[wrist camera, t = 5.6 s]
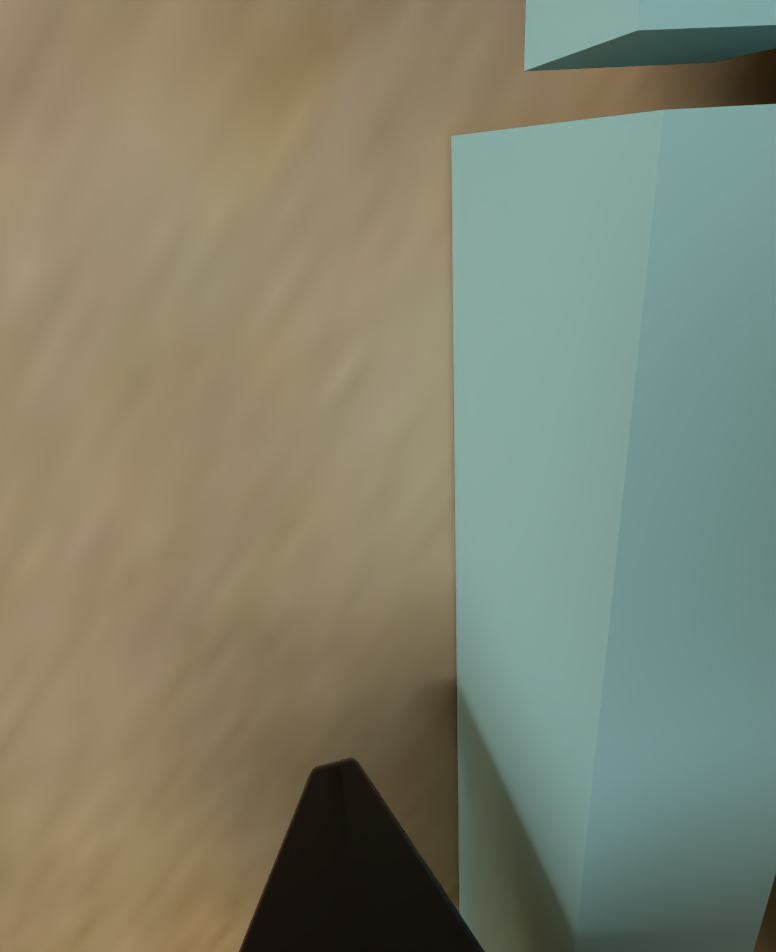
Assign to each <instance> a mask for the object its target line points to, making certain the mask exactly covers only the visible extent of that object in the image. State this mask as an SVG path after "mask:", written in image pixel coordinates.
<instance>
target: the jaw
mask: <svg viewBox="0 0 776 952" xmlns="http://www.w3.org/2000/svg"><path fill="white" fill-rule="evenodd" d="M775 48H776V0H526V20H525V55H524V71H538V70H559V69H581V68H603V67H625V66H647V65H669V64H690V63H712V62H716V61H721V60H725V59H730V58H734V57H739V56H743V55H748V54H752V53H757V52H761V51H766V50H770V49H775ZM451 151H452V247H453V343H454V439H455V535H456V631H457V728H458V824H459V914H460V915H461V917H462V918H463V920H464V921H465V923H466V924H467V926H468V927H469V929H470V930H471V932H472V933H473V935H474V936H475V938H476V939H477V941H478V942H479V944H480V945H481V947H482V948H483V950H484V951H485V952H753V951H754V948H755V944H756V941H757V937H758V934H759V930H760V927H761V923H762V920H763V916H764V913H765V909H766V906H767V902H768V899H769V895H770V892H771V889H772V885H773V882H774V878H775V875H776V104H763V105H744V106H725V107H706V108H687V109H668V110H658V111H649V112H641V113H633V114H625V115H617V116H609V117H601V118H593V119H585V120H577V121H568V122H560V123H552V124H544V125H536V126H528V127H520V128H512V129H504V130H496V131H487V132H479V133H471V134H463V135H455V136H451Z"/></svg>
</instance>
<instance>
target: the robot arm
mask: <svg viewBox="0 0 776 952" xmlns="http://www.w3.org/2000/svg"><path fill="white" fill-rule="evenodd" d="M239 952H485V951H484V950H483V948H482V947H481V945H480V944H479V942H478V941H477V939H476V938H475V936H474V935H473V933H472V932H471V930H470V929H469V927H468V926H467V924H466V923H465V921H464V920H463V918H462V917H461V915H460V914H459V912H458V911H457V909H456V908H455V906H454V905H453V903H452V902H451V900H450V899H449V897H448V896H447V894H446V893H445V891H444V890H443V888H442V887H441V885H440V884H439V882H438V881H437V879H436V878H435V876H434V875H433V873H432V872H431V870H430V869H429V867H428V866H427V864H426V863H425V861H424V860H423V858H422V857H421V855H420V854H419V852H418V851H417V849H416V848H415V846H414V845H413V843H412V842H411V840H410V839H409V837H408V836H407V834H406V833H405V831H404V830H403V828H402V827H401V825H400V824H399V822H398V821H397V819H396V818H395V816H394V815H393V813H392V812H391V810H390V809H389V807H388V806H387V804H386V803H385V801H384V800H383V798H382V797H381V795H380V794H379V792H378V791H377V789H376V788H375V786H374V785H373V783H372V782H371V780H370V779H369V777H368V776H367V774H366V773H365V771H364V770H363V768H362V767H361V765H360V764H359V762H358V761H357V760H356V759H355V758H346V759H343V760H339V761H335V762H331V763H327V764H323V765H319V766H316V767H315V768H314V769H313V770H312V771H311V773H310V775H309V778H308V780H307V783H306V785H305V788H304V790H303V793H302V795H301V798H300V800H299V803H298V805H297V808H296V810H295V813H294V815H293V818H292V820H291V823H290V825H289V828H288V830H287V833H286V835H285V838H284V840H283V843H282V845H281V848H280V850H279V853H278V855H277V858H276V860H275V863H274V865H273V868H272V870H271V873H270V875H269V878H268V880H267V883H266V885H265V888H264V890H263V893H262V895H261V898H260V900H259V903H258V905H257V908H256V910H255V913H254V915H253V918H252V920H251V923H250V925H249V928H248V930H247V933H246V935H245V938H244V940H243V943H242V945H241V948H240V950H239Z"/></svg>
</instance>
